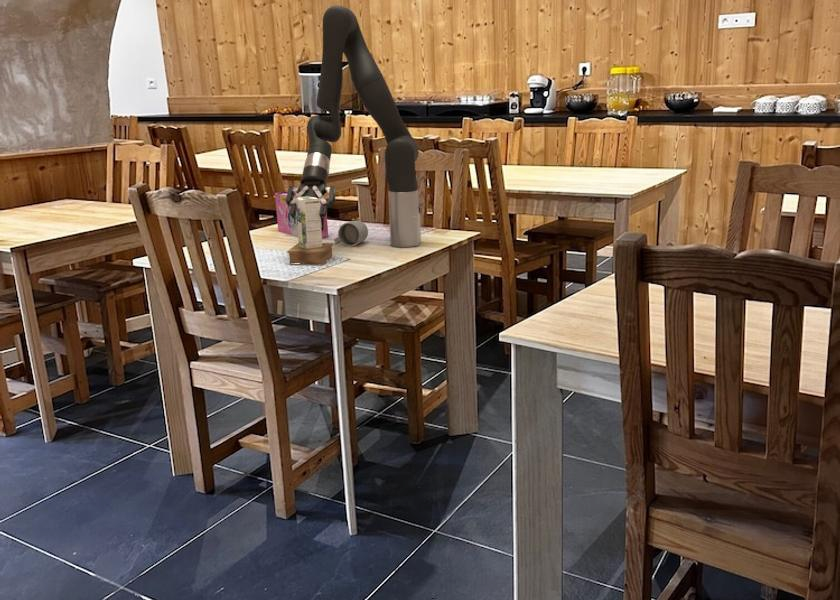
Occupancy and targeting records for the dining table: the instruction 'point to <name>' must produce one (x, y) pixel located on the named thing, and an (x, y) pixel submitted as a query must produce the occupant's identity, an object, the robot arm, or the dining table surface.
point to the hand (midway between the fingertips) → (307, 217)
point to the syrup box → (309, 222)
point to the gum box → (285, 219)
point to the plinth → (310, 254)
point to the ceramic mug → (352, 233)
